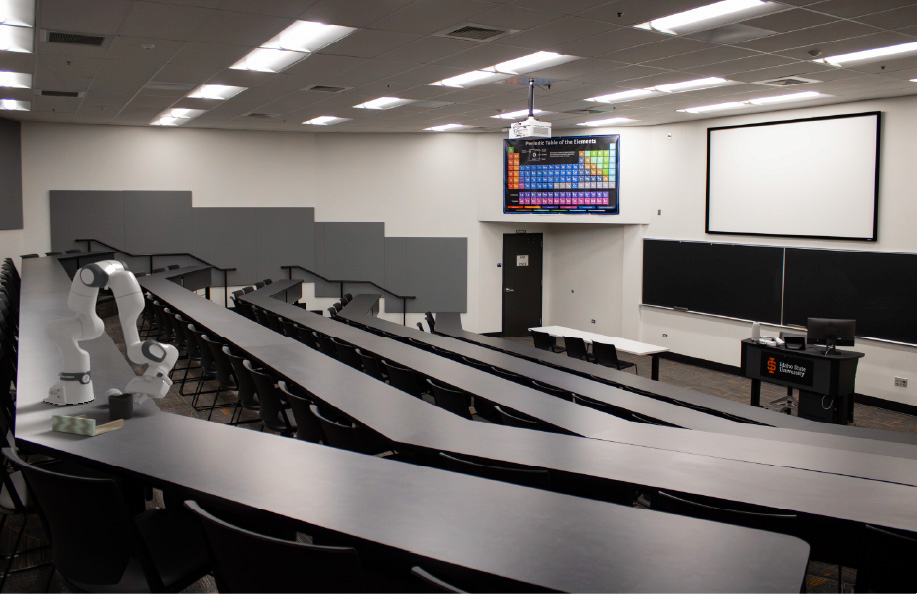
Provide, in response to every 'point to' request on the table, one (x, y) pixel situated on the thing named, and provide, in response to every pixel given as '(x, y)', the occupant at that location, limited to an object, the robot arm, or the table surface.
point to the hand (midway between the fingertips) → (137, 403)
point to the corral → (82, 425)
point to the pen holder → (121, 406)
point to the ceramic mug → (111, 392)
